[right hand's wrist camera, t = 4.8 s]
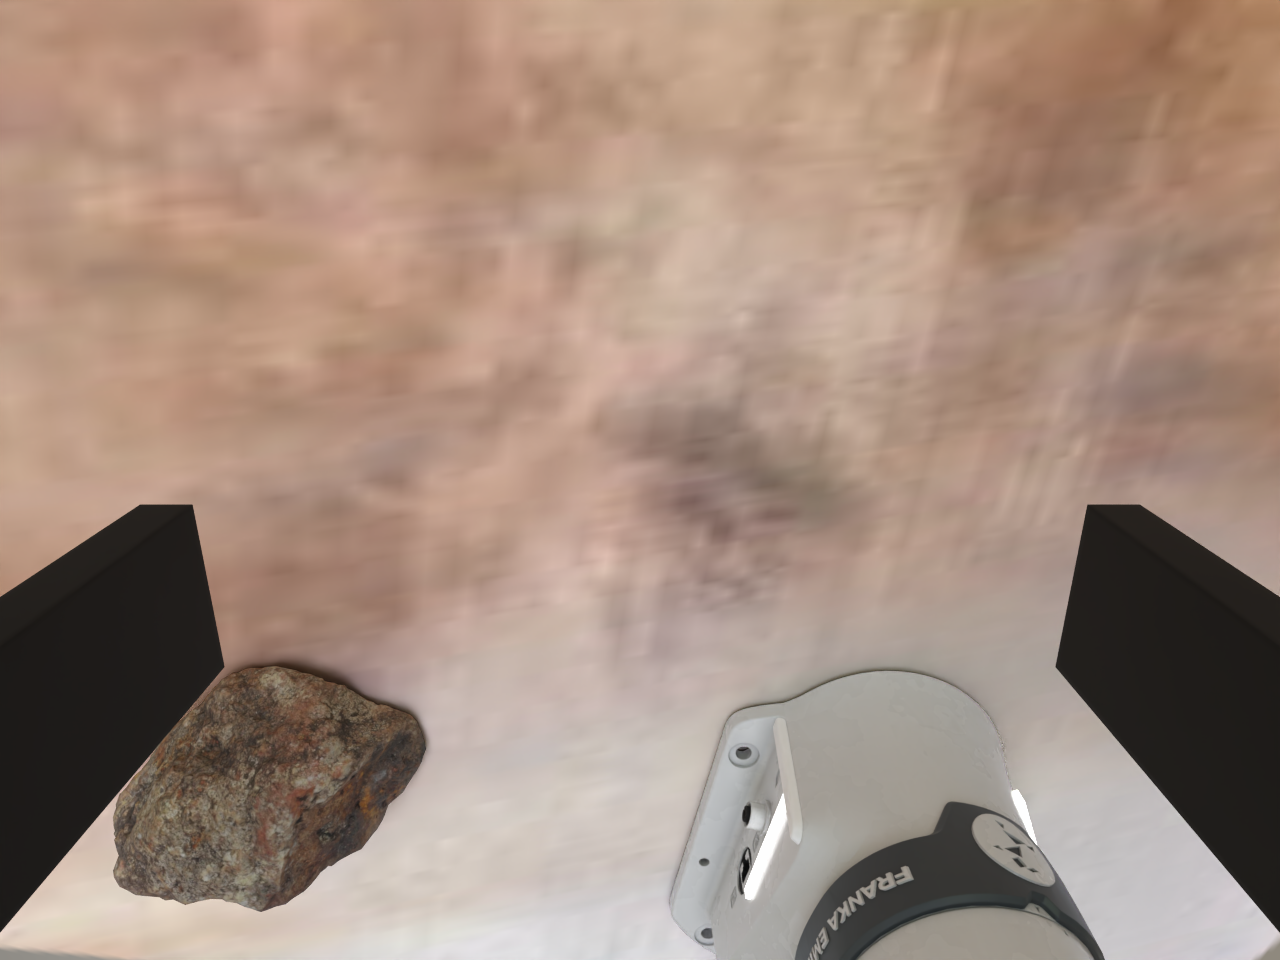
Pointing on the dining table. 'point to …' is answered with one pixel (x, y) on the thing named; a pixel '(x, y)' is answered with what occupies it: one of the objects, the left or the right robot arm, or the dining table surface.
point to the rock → (262, 790)
